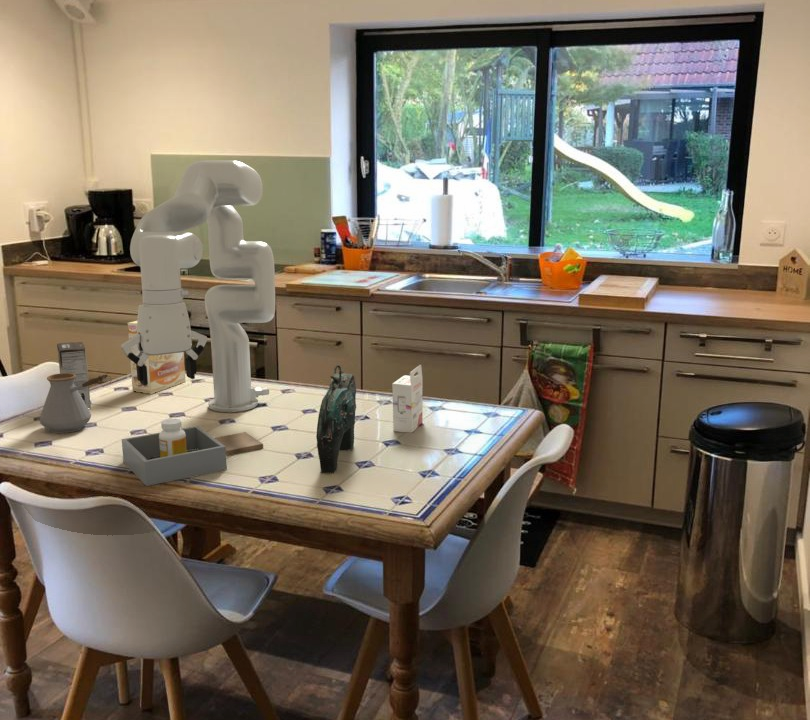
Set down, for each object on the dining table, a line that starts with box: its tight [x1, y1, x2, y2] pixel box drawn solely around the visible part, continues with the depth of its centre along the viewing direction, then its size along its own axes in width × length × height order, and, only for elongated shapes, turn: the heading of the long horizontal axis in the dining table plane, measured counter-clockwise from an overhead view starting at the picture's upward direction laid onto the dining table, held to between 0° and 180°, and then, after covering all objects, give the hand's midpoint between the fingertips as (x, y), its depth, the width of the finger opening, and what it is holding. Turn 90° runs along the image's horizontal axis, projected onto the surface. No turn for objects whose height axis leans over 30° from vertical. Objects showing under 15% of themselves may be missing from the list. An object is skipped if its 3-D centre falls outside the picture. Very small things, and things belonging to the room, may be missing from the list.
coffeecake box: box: [127, 320, 186, 395], centre depth 237 cm, size 15×7×20 cm, turn 155°
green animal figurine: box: [315, 364, 357, 474], centre depth 179 cm, size 20×6×20 cm, turn 170°
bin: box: [121, 425, 228, 487], centre depth 176 cm, size 17×17×5 cm
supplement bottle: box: [158, 418, 188, 458], centre depth 176 cm, size 5×5×10 cm
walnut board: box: [214, 431, 264, 456], centre depth 189 cm, size 10×10×1 cm
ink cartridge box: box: [391, 364, 424, 434], centre depth 200 cm, size 9×5×15 cm, turn 161°
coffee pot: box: [39, 373, 112, 434], centre depth 198 cm, size 21×12×15 cm, turn 62°
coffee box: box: [56, 341, 92, 409], centre depth 219 cm, size 9×6×16 cm
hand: (167, 380), depth 172 cm, fingers open, 9 cm apart
